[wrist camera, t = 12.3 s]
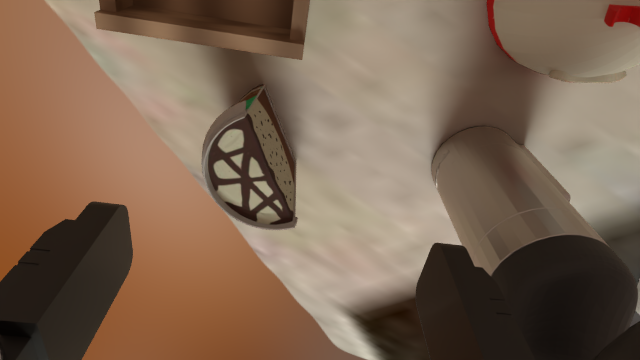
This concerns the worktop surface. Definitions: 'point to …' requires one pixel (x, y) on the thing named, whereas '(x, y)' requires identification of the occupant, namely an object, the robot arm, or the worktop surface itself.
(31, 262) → the robot arm
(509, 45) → the kitchen timer
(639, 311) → the supplement box
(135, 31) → the bay
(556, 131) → the worktop surface
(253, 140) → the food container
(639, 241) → the worktop surface
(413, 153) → the worktop surface
